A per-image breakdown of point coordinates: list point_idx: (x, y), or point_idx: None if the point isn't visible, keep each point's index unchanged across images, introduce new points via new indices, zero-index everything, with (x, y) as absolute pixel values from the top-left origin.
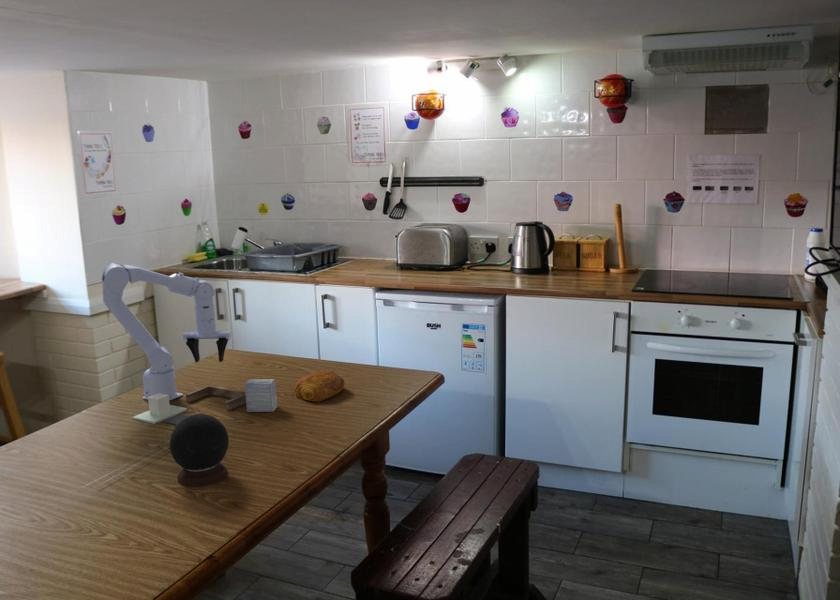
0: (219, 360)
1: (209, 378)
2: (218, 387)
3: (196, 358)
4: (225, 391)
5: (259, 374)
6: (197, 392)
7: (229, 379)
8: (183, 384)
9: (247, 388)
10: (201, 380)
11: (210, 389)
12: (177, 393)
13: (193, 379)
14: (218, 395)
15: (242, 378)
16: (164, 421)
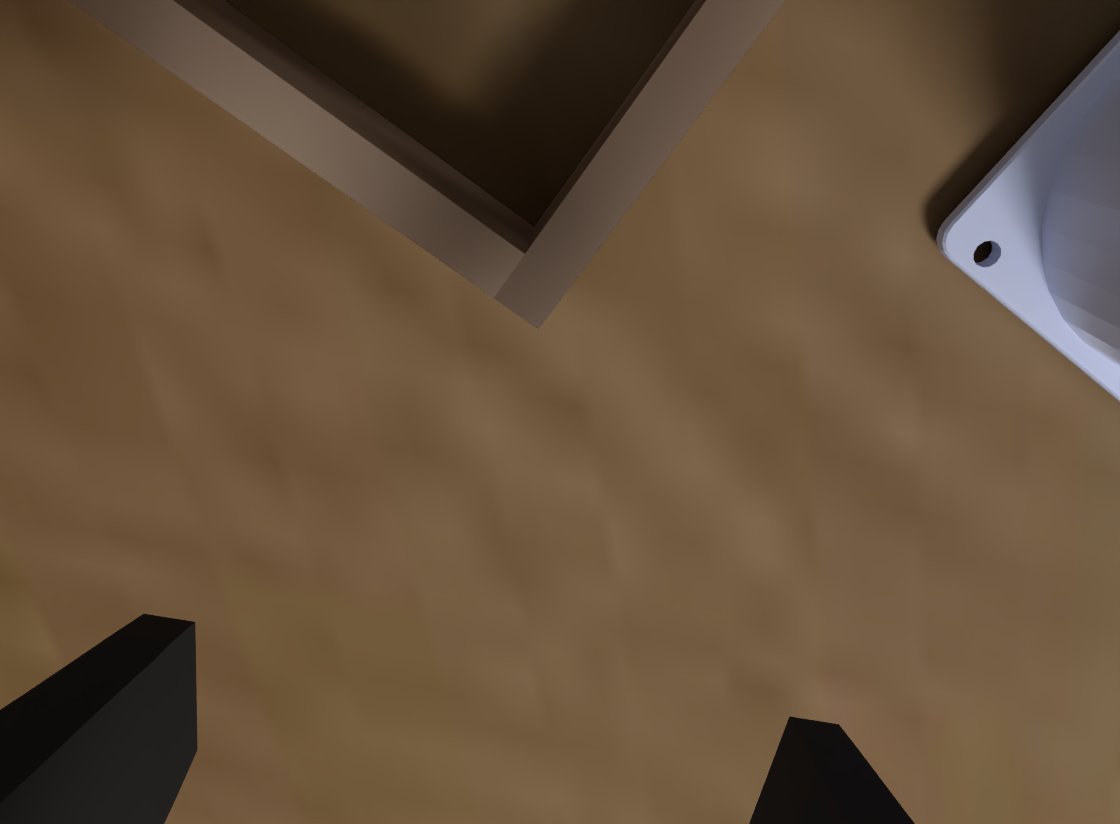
0: (161, 640)
1: (638, 809)
2: (342, 162)
3: (831, 788)
4: (195, 6)
5: None
6: (697, 8)
7: (395, 737)
8: (932, 685)
9: None
10: (723, 768)
11: (507, 229)
12: (1027, 280)
13: None
14: (379, 115)
15: (248, 738)
16: None
